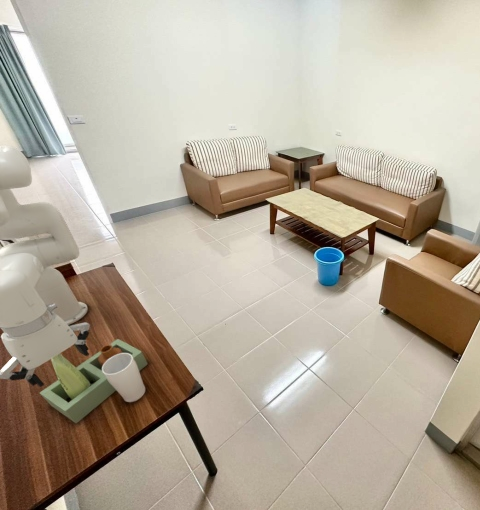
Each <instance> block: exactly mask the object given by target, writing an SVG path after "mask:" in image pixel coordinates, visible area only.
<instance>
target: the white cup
mask: <svg viewBox="0 0 480 510" xmlns="http://www.w3.org/2000/svg"><path fill="white" fill-rule="evenodd" d="M102 372H103V374H104V376H105V378H106V379H107V381H108V382H109V383H110V384H111V385H112V386H113V387H114V389H115V390H116V391H115V392H117V393H118V394H119V395H120V396H121V398H122V399H123V400H124V402H126V403H134V402H136V401H138V400H140V399H141V398H142V397H143V396H144V395H145V393H146V385H145V384H144V381H143V378H142V376H141V372H140V371H139V369H138V366H137V364H136V362H135V360H134V358H133V357H132V355H131V354H129V353H120V354H117V355H114V356H112V357H111V358H109V359H108V360H107V361H106V362H105V363H104V364H103V366H102Z"/></svg>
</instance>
